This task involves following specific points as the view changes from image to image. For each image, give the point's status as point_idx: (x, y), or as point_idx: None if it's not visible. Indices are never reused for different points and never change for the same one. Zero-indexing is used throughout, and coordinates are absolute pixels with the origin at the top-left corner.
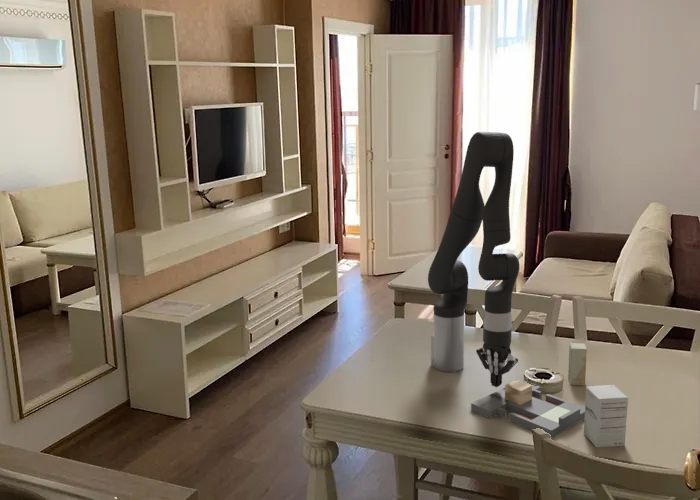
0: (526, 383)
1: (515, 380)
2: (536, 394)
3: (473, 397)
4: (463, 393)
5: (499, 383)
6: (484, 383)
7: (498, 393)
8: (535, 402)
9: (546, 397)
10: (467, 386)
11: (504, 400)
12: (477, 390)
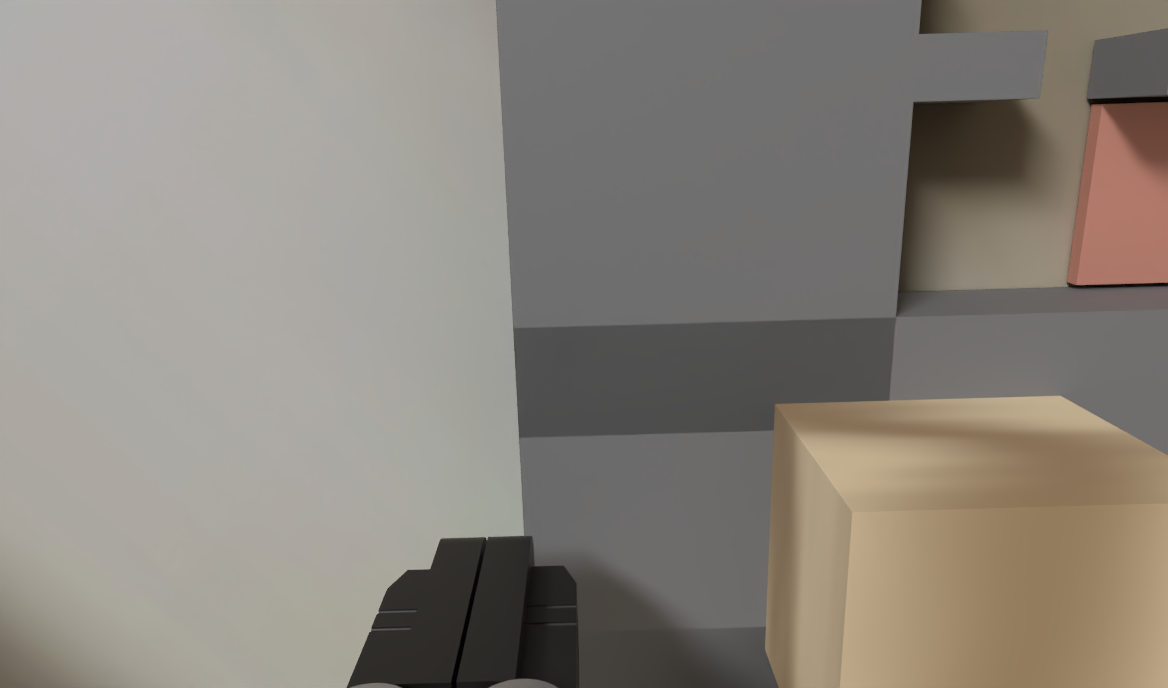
0: (1109, 510)
1: (851, 551)
2: (956, 101)
3: (331, 675)
4: (171, 680)
5: (578, 648)
6: (72, 254)
7: (589, 581)
8: (1156, 440)
9: (1152, 94)
10: (25, 502)
11: None
12: (203, 500)
